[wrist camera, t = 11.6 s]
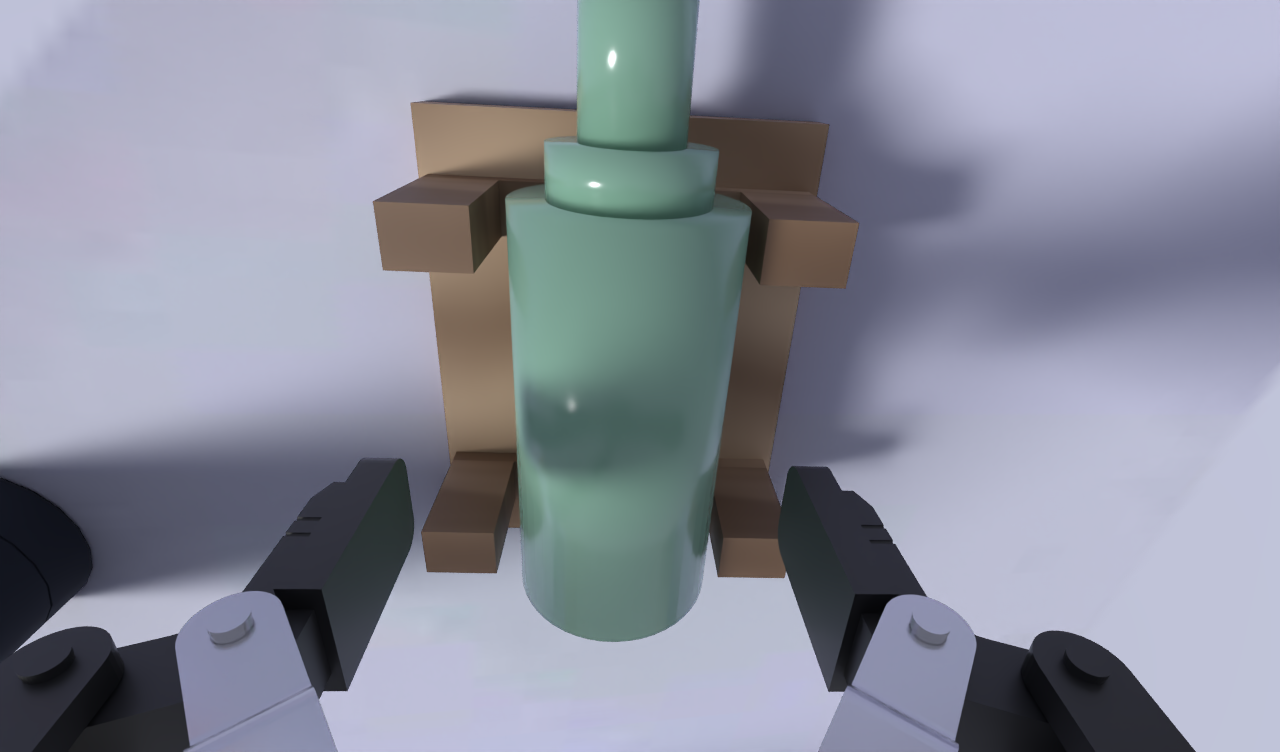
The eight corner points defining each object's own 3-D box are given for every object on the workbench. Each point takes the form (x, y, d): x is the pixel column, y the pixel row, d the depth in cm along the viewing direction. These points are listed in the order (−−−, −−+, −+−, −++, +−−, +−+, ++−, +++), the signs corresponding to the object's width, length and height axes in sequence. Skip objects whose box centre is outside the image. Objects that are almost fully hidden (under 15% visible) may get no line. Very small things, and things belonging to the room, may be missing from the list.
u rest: (752, 514, 23) (783, 619, 19) (464, 508, 23) (424, 615, 18) (818, 122, 17) (889, 138, 12) (421, 101, 16) (346, 110, 12)
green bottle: (689, 508, 21) (717, 640, 16) (531, 508, 21) (511, 643, 16) (752, -56, 14) (839, -127, 9) (511, -74, 13) (463, -161, 8)
